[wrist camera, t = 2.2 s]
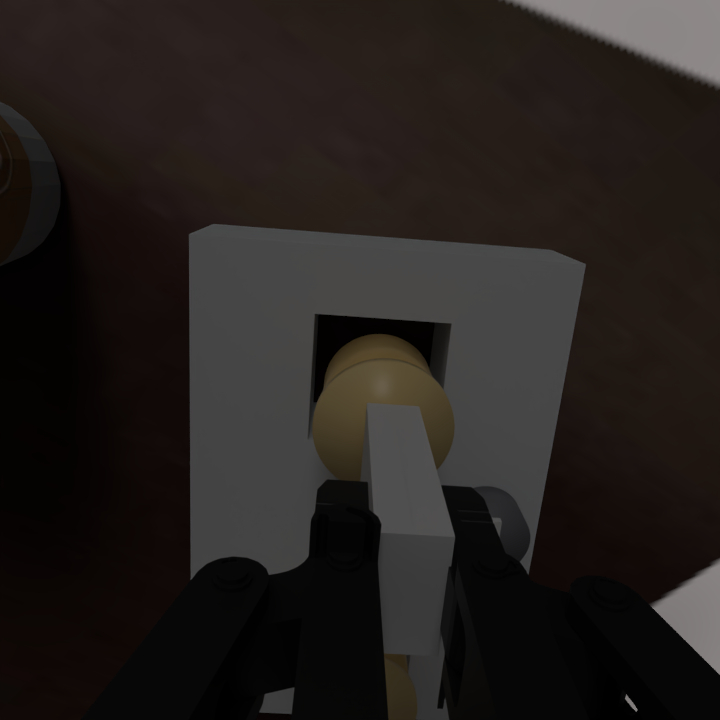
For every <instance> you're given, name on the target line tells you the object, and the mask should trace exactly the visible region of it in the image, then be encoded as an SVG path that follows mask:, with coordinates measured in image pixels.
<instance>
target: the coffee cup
mask: <svg viewBox="0 0 720 720" xmlns="http://www.w3.org/2000/svg"><path fill="white" fill-rule="evenodd" d="M60 192H61V184H60V179H59V175H58V171H57V167H56V163H55V160H54V158H53V156H52V155H51V153H50V151H49V149H48V147H47V145H46V143H45V141H44V139H43V138H42V137H41V136H40V135H39V133H38V132H37V131H36V130H35V128H34V127H33V126H32V125H31V123H30V122H29V121H28V120H26V119H25V118H24V117H23V116H21V115H20V114H19V113H17V112H16V111H15V110H14V109H12V108H11V107H10V106H8V105H5V104H3V103H1V102H0V266H2V265H4V264H6V263H9V262H11V261H13V260H16V259H18V258H21V257H23V256H25V255H28V254H29V253H30V252H32V251H33V250H34V249H35V248H37V247H38V246H39V245H40V244H42V243H43V242H44V240H45V239H46V237H47V236H48V234H49V233H50V231H51V230H52V228H53V227H54V225H55V221H56V218H57V215H58V212H59V208H60Z"/></svg>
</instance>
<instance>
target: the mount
mask: <svg viewBox="0 0 720 720" xmlns="http://www.w3.org/2000/svg"><path fill="white" fill-rule="evenodd" d="M585 266H586V264H584V263H581V262H579V261H577V260H574V259H572V258H569V257H567V256H565V255H562V254H560V253H557V252H555V251H553V250H547V249H534V248H521V247H508V246H494V245H481V244H468V243H455V242H442V241H429V240H416V239H403V238H390V237H377V236H364V235H351V234H338V233H325V232H312V231H299V230H285V229H272V228H259V227H246V226H233V225H220V224H212V225H210V226H207V227H205V228H203V229H200V230H198V231H196V232H193V233H191V234H189V308H190V510H191V579H192V578H193V577H194V576H195V574H196V573H197V572H198V571H199V570H200V569H201V568H202V567H204V566H205V565H206V564H207V563H210V562H212V561H214V560H217V559H219V558H226V557H232V556H235V557H246V558H249V559H252V560H255V561H258V562H259V563H260V564H262V565H263V566H264V567H265V568H266V569H267V571H268V574H269V575H271V574H277V573H282V572H286V571H289V570H291V569H294V568H296V567H298V566H299V565H301V564H302V563H303V562H304V561H305V560H306V559H307V558H308V556H309V541H310V525H311V519H312V516H313V514H314V513H315V505H316V496H317V489H318V488H319V487H320V486H321V485H322V484H323V483H324V482H325V481H326V480H327V479H330V480H339V479H338V478H336V477H335V476H334V475H333V474H332V473H331V472H330V471H329V470H328V469H327V468H326V467H325V465H324V464H323V462H322V461H321V459H320V457H319V455H318V453H317V451H316V448H315V445H314V440H313V434H312V424H313V417H314V411H315V407H316V404H317V402H314V386H315V369H316V352H317V334H318V317H319V314H326V315H340V316H354V317H368V318H382V319H396V320H410V321H424V322H435V324H434V333H433V341H432V350H431V358H430V367H429V369H430V372H431V374H432V377H433V378H434V379H435V380H436V381H437V382H438V383H439V384H440V386H441V387H442V388H443V390H444V392H445V393H446V395H447V397H448V400H449V402H450V405H451V407H452V411H453V415H454V424H455V429H454V438H453V443H452V446H451V448H450V451H449V453H448V455H447V457H446V459H445V460H444V462H443V463H442V465H441V466H440V467H439V468H438V469H437V473H438V477H439V480H440V484H441V485H449V486H464V487H472V488H473V489H474V490H475V491H476V492H478V493H479V494H480V495H481V496H482V497H483V498H484V500H485V502H486V505H487V507H488V510H489V513H490V515H491V517H492V520H493V523H494V525H495V527H496V530H497V532H498V535H499V537H500V540H501V542H502V545H503V548H504V550H505V553H506V554H508V555H511V556H512V557H513V558H515V559H516V560H518V561H519V562H520V563H521V564H522V566H523V567H524V568H525V570H526V571H527V574H529V569H530V563H531V558H532V552H533V547H534V542H535V536H536V531H537V525H538V520H539V515H540V509H541V504H542V498H543V493H544V488H545V482H546V477H547V471H548V466H549V461H550V455H551V450H552V444H553V439H554V434H555V428H556V423H557V417H558V412H559V407H560V401H561V396H562V390H563V385H564V380H565V374H566V369H567V363H568V358H569V353H570V347H571V342H572V336H573V331H574V326H575V320H576V315H577V309H578V304H579V299H580V293H581V288H582V282H583V277H584V272H585ZM444 654H445V651H444V646H443V640H442V635H441V642H440V649H439V656H423V655H406V658H407V667H408V675H409V676H410V678H411V680H412V682H413V684H414V687H415V690H416V697H417V706H418V707H417V716H416V719H415V720H449V716H448V710H447V704H446V698H445V699H444V706H443V709H437V706H438V696H439V689H440V682H441V675H442V668H443V661H444ZM293 696H294V687H293V688H289V689H285V690H280V691H276V692H272V693H268V694H265V696H264V700H263V705H262V707H261V709H260V711H259V712H262V713H283V714H292V706H293Z"/></svg>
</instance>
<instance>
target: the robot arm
mask: <svg viewBox="0 0 720 720" xmlns="http://www.w3.org/2000/svg"><path fill="white" fill-rule="evenodd" d="M441 635H442V640H443V646H444V651H445V654H444V661H443V668H442V675H441V682H440V689H439V696H438V706H437V709H443V706H444V699H445V698H446V704H447V710H448V716H449V720H720V675H719V674H718V673H717V672H716V671H715V670H714V669H713V668H712V667H711V666H710V665H709V664H708V663H707V662H706V661H705V660H704V659H703V658H702V657H701V656H700V655H699V654H698V653H697V652H696V651H695V650H694V649H693V648H692V647H691V646H690V645H689V644H688V643H687V642H686V641H685V640H684V639H683V638H682V637H681V636H680V635H679V634H678V633H677V632H676V631H675V630H674V629H673V628H672V627H671V626H670V625H669V624H668V623H667V622H666V621H665V620H664V619H663V618H662V617H661V616H660V615H659V614H658V613H657V612H656V611H655V610H654V609H653V608H652V607H651V606H650V605H649V604H648V603H647V602H646V601H645V600H644V599H643V598H642V597H641V596H640V595H639V594H637V593H636V592H635V591H633V590H632V589H631V588H629V587H628V586H626V585H624V584H622V583H620V582H618V581H616V580H614V579H610V578H606V577H602V576H584V577H580V578H577V579H576V580H575V581H574V582H573V583H572V584H571V587H570V592H569V593H567V592H564V591H560V590H556V589H553V588H549V587H546V586H543V585H540V584H537V583H535V582H533V581H531V580H530V578H529V576H528V574H527V571H526V570H525V568H524V567H523V566H522V564H521V563H520V562H519V561H518V560H516V559H515V558H513V557H512V556H511V555H508V554H506V553H505V550H504V548H503V545H502V542H501V540H500V537H499V535H498V532H497V530H496V527H495V525H494V523H493V520H492V517H491V515H490V513H489V510H488V507H487V505H486V502H485V500H484V498H483V497H482V496H481V495H480V494H479V493H478V492H476V491H475V490H474V489H473V488H472V487H464V486H449V485H441V484H440V480H439V477H438V473H437V469H436V466H435V462H434V459H433V455H432V451H431V448H430V444H429V441H428V437H427V433H426V430H425V426H424V422H423V419H422V415H421V412H420V408H419V406H407V405H392V404H377V403H367V408H366V420H365V431H364V443H363V454H362V466H361V478H360V481H346V480H330V479H327V480H326V481H325V482H324V483H323V484H322V485H321V486H320V487H319V488H318V489H317V496H316V505H315V513H314V514H313V516H312V519H311V525H310V541H309V556H308V558H307V559H306V560H305V561H304V562H303V563H302V564H301V565H299V566H298V567H296V568H294V569H291V570H289V571H286V572H282V573H277V574H271V575H269V574H268V571H267V569H266V568H265V567H264V566H263V565H262V564H260V563H259V562H258V561H255V560H252V559H249V558H246V557H235V556H232V557H226V558H219V559H217V560H214V561H212V562H210V563H207V564H206V565H205V566H204V567H202V568H201V569H200V570H199V571H198V572H197V573H196V574H195V576H194V577H193V578H192V579H191V581H190V582H189V583H188V584H187V586H186V587H185V588H184V590H183V591H182V592H181V593H180V595H179V596H178V597H177V598H176V600H175V601H174V602H173V603H172V605H171V606H170V607H169V609H168V610H167V611H166V612H165V614H164V615H163V616H162V617H161V619H160V620H159V621H158V622H157V624H156V625H155V626H154V628H153V629H152V630H151V631H150V633H149V634H148V635H147V636H146V638H145V639H144V640H143V641H142V643H141V644H140V645H139V646H138V648H137V649H136V650H135V652H134V653H133V654H132V655H131V657H130V658H129V659H128V660H127V662H126V663H125V664H124V665H123V667H122V668H121V669H120V671H119V672H118V673H117V674H116V676H115V677H114V678H113V679H112V681H111V682H110V683H109V684H108V686H107V687H106V688H105V690H104V691H103V692H102V693H101V695H100V696H99V697H98V698H97V700H96V701H95V702H94V703H93V705H92V706H91V707H90V708H89V710H88V711H87V712H86V714H85V715H84V716H83V717H82V719H81V720H256V718H257V715H258V713H259V711H260V709H261V707H262V705H263V700H264V696H265V694H268V693H272V692H276V691H280V690H285V689H289V688H293V687H294V696H293V706H292V715H291V720H389V719H388V705H387V690H386V675H385V661H384V653H386V654H404V655H423V656H439V649H440V642H441ZM626 694H627V695H628V697H629V698H630V699H631V700H632V702H633V703H634V704H635V706H636V708H637V709H638V711H637V712H636V711H635V710H634V709H633V708H632V707H631V706H630V705H629V704H628V703H627V701H626V700H625V696H626Z"/></svg>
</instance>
